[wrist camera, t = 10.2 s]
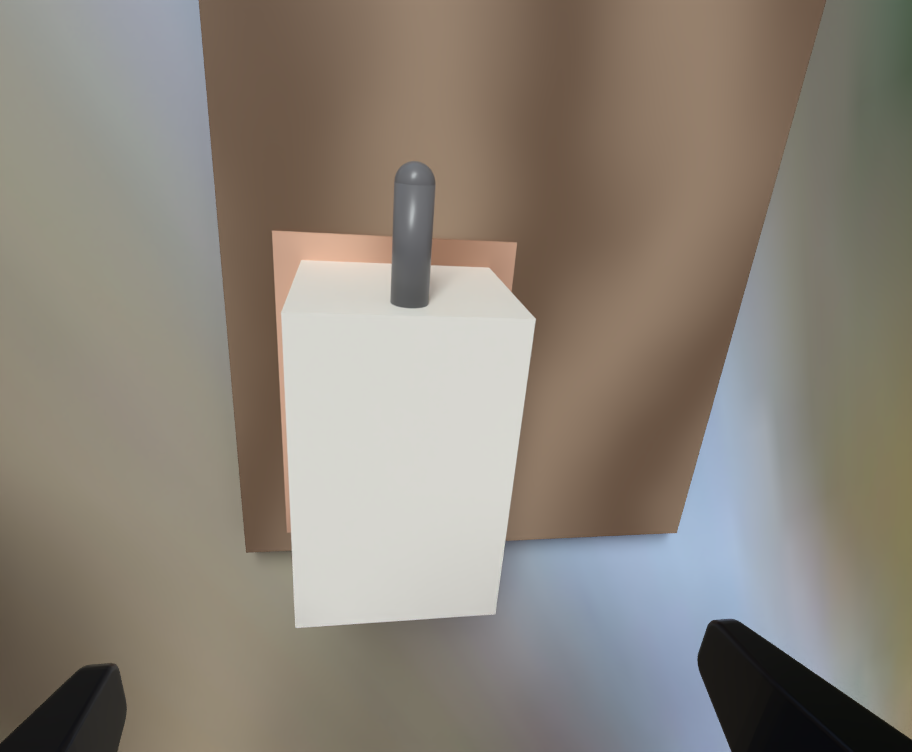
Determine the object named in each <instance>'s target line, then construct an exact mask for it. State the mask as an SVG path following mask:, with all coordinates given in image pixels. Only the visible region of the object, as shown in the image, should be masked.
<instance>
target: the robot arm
mask: <svg viewBox="0 0 912 752" xmlns="http://www.w3.org/2000/svg"><path fill="white" fill-rule="evenodd" d="M698 668H699V671H700V674H701V677H702V679H703V682H704V684H705V687H706V689H707V692H708V694H709V697H710V699H711V702H712V704H713V707H714V709H715V712H716V714H717V717H718V719H719V722H720V724H721V727H722V729H723V732H724V734H725V737H726V739H727V742H728V744H729V747H730V749H731V752H912V740H911V739H910V738H908V737H907V736H905V735H904V734H903V733H901V732H900V731H898V730H897V729H895V728H894V727H892V726H891V725H889V724H888V723H887V722H885V721H884V720H882V719H881V718H879V717H878V716H876V715H875V714H873V713H872V712H870V711H869V710H868V709H866V708H865V707H863V706H862V705H860V704H859V703H857V702H856V701H854V700H853V699H852V698H850V697H849V696H847V695H846V694H844V693H843V692H841V691H840V690H838V689H837V688H836V687H834V686H833V685H831V684H830V683H828V682H827V681H825V680H824V679H822V678H821V677H820V676H818V675H817V674H815V673H814V672H812V671H811V670H809V669H808V668H806V667H805V666H804V665H802V664H801V663H799V662H798V661H796V660H795V659H793V658H792V657H790V656H789V655H788V654H786V653H785V652H783V651H782V650H780V649H779V648H777V647H776V646H774V645H773V644H772V643H770V642H769V641H767V640H766V639H764V638H763V637H761V636H760V635H758V634H757V633H756V632H754V631H753V630H751V629H750V628H748V627H747V626H745V625H744V624H742V623H741V622H739V621H737V620H735V619H721V620H713V621H711V622H710V623H709V624H708V626H707V629H706V632H705V635H704V638H703V641H702V644H701V647H700V649H699V652H698ZM126 710H127V704H126V699H125V694H124V689H123V685H122V680H121V676H120V671H119V668H118V666H117V665H116V664H112V663H107V664H93V665H86V666H84V667H82V668H80V669H79V670H78V671H76V672H75V673H74V674H73V675H72V676H71V677H70V678H69V679H68V680H67V681H66V682H65V683H64V684H63V685H62V686H61V687H60V688H59V689H57V690H56V691H55V692H54V693H53V694H52V695H51V696H50V697H49V698H48V699H47V700H46V701H45V702H44V703H43V704H42V705H41V706H40V707H38V708H37V709H36V710H35V711H34V712H33V713H32V714H31V715H30V716H29V717H28V718H27V719H26V720H25V721H24V722H23V723H22V724H20V725H19V726H18V727H17V728H16V729H15V730H14V731H13V732H12V733H11V734H10V735H9V736H8V737H7V738H6V739H5V740H4V741H3V742H1V743H0V752H117V750H118V746H119V743H120V739H121V735H122V731H123V727H124V723H125V719H126Z"/></svg>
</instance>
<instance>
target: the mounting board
mask: <svg viewBox="0 0 912 752" xmlns="http://www.w3.org/2000/svg"><path fill="white" fill-rule="evenodd" d="M825 3H826V0H199V9H200V21H201V32H202V44H203V56H204V67H205V79H206V91H207V102H208V114H209V126H210V137H211V149H212V161H213V172H214V184H215V196H216V207H217V219H218V231H219V242H220V254H221V266H222V277H223V289H224V300H225V312H226V324H227V335H228V347H229V359H230V370H231V382H232V394H233V405H234V417H235V429H236V440H237V452H238V464H239V475H240V487H241V499H242V510H243V522H244V534H245V545H246V553H248V552H270V551H292V542H291V520H290V498H289V476H288V454H287V432H286V410H285V388H284V366H283V344H282V322H281V311H282V309H283V306H284V304H285V301H286V298H287V296H288V293H289V291H290V288H291V285H292V283H293V280H294V277H295V275H296V272H297V270H298V267H299V264H300V262H301V260H313V261H338V262H362V263H387V264H392V235H393V204H394V180H395V175H396V173H397V171H398V169H399V168H400V167H401V166H402V165H403V164H405V163H407V162H411V161H418V162H422V163H424V164H426V165H427V166H428V167H429V168H430V169H431V170H432V172H433V174H434V177H435V184H436V186H435V203H434V219H433V236H432V253H431V265H437V266H462V267H486V268H490V269H491V270H492V271H493V272H494V273H495V274H496V276H497V277H498V278H499V279H500V280H501V281H502V282H503V283H504V284H505V286H506V287H507V288H508V289H509V290H510V291H511V292H512V293H513V294H514V295H515V297H516V298H517V299H518V300H519V301H520V302H521V303H522V304H523V305H524V306H525V308H526V309H527V310H528V311H529V312H530V313H531V314H532V315H533V316H534V318H535V319H536V321H535V328H534V336H533V343H532V350H531V357H530V365H529V372H528V379H527V387H526V394H525V401H524V408H523V416H522V423H521V430H520V438H519V445H518V452H517V459H516V467H515V474H514V481H513V489H512V496H511V503H510V510H509V518H508V525H507V532H506V540H505V541H510V540H532V539H553V538H575V537H597V536H619V535H641V534H662V533H677V530H678V526H679V522H680V519H681V515H682V512H683V508H684V505H685V501H686V498H687V494H688V490H689V487H690V483H691V480H692V476H693V473H694V469H695V466H696V462H697V458H698V455H699V451H700V448H701V444H702V441H703V437H704V434H705V430H706V426H707V423H708V419H709V416H710V412H711V409H712V405H713V401H714V398H715V394H716V391H717V387H718V384H719V380H720V377H721V373H722V369H723V366H724V362H725V359H726V355H727V352H728V348H729V345H730V341H731V337H732V334H733V330H734V327H735V323H736V320H737V316H738V313H739V309H740V305H741V302H742V298H743V295H744V291H745V288H746V284H747V281H748V277H749V273H750V270H751V266H752V263H753V259H754V256H755V252H756V249H757V245H758V241H759V238H760V234H761V231H762V227H763V224H764V220H765V217H766V213H767V209H768V206H769V202H770V199H771V195H772V192H773V188H774V185H775V181H776V177H777V174H778V170H779V167H780V163H781V160H782V156H783V152H784V149H785V145H786V142H787V138H788V135H789V131H790V128H791V124H792V120H793V117H794V113H795V110H796V106H797V103H798V99H799V96H800V92H801V88H802V85H803V81H804V78H805V74H806V71H807V67H808V64H809V60H810V56H811V53H812V49H813V46H814V42H815V39H816V35H817V32H818V28H819V24H820V21H821V17H822V14H823V10H824V7H825Z"/></svg>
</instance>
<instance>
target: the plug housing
mask: <svg viewBox="0 0 912 752" xmlns="http://www.w3.org/2000/svg"><path fill="white" fill-rule="evenodd" d="M435 186H436V184H435V177H434V174H433V172H432V170H431V169H430V168H429V167H428V166H427V165H426V164H424V163H422V162H418V161H411V162H407V163H405V164H403V165H402V166H401V167H400V168H399V169H398V171H397V173H396V175H395V180H394V204H393V235H392V264H387V263H362V262H338V261H313V260H301V262H300V264H299V267H298V270H297V272H296V275H295V277H294V280H293V283H292V285H291V288H290V291H289V293H288V296H287V298H286V301H285V304H284V306H283V309H282V311H281V322H282V344H283V366H284V388H285V410H286V432H287V454H288V476H289V498H290V520H291V542H292V564H293V586H294V608H295V628H302V627H317V626H332V625H346V624H361V623H375V622H390V621H405V620H419V619H434V618H448V617H463V616H478V615H492V614H495V613H496V605H497V598H498V591H499V583H500V576H501V569H502V561H503V554H504V547H505V540H506V532H507V525H508V518H509V510H510V503H511V496H512V489H513V481H514V474H515V467H516V459H517V452H518V445H519V438H520V430H521V423H522V416H523V408H524V401H525V394H526V387H527V379H528V372H529V365H530V357H531V350H532V343H533V336H534V328H535V321H536V319H535V318H534V316H533V315H532V314H531V313H530V312H529V311H528V310H527V309H526V308H525V306H524V305H523V304H522V303H521V302H520V301H519V300H518V299H517V298H516V297H515V295H514V294H513V293H512V292H511V291H510V290H509V289H508V288H507V287H506V286H505V284H504V283H503V282H502V281H501V280H500V279H499V278H498V277H497V276H496V274H495V273H494V272H493V271H492V270H491V269H490V268H486V267H462V266H437V265H431V253H432V236H433V219H434V203H435Z"/></svg>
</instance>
